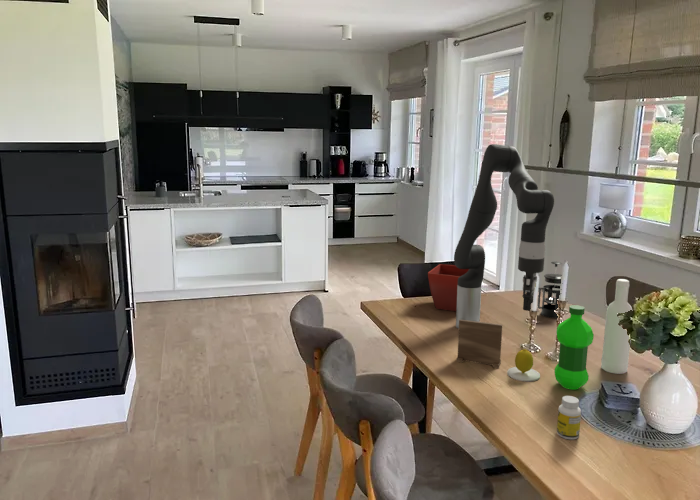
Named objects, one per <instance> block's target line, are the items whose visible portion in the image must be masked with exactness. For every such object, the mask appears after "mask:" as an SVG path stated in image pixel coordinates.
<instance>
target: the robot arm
mask: <svg viewBox="0 0 700 500" xmlns="http://www.w3.org/2000/svg"><path fill="white" fill-rule="evenodd" d="M482 157H483V158H482V162H481V165H480V166H481V167H480V172H479V176H478V181H477V183H476V187H475V192H474V195H473V198H472V201H471V203H470V207H469V211H468V214H467V218H466V221H465V225H464V227H463V230H462V233H461V236H460V238H459V240H458V243H457V244H456V247H455V250H454V255H453V262H454V265H455V266H456V267H457V268H459V269H469V270H468V272H467V273H465V274H464V275H462V276H460V277H459V278H458V285H457V309H456V311H455V313H456V314H455V327H456V328H457V330H459V320H460V319H461V320H469V321H477V322H481V306H482V305H481V301H482V286H483V285H482V283H483V281H484V275H485V264H486V251H485V249H484V247H483V246H482V245H481V244H475V242H476V240H477V239H478V238H479V237H480V236H481V235H482V234H483V233H484V232H485V231H486V230H487V229H488V228H489V227H490V225H491V224H492V223H493V221H494V219H495V215H496V212H497V209H498V201H497V197H496V195H495V193H494V189H493V185H492V176H493V173H494V172H495V173H496V172H497V173H510V174H509V176H508V185H509V188H510V189H511V191H512V193H513V194H514V195H515V199H516V206H517V209H518V211H520V212H521V213H523V214H536V216H535V217H534V218H533V219H531V220H526V221H524V222H522V224H521V230H520V244H519V247H518V260H517V269H518V270H519V272H523V273H525V274H524V275H523V276H522V299H523V304H522V306H523V307H522V309H523V311H527V312H528V311H529V312H530V311H531V309H532V304H533V302H534V294H535V290H536V287H537V281H538V276H537V275H536V274H539V273H542V272H544V269H545V255H546V245H545V244H546V232H547V231H546V229H547V226H548V223H549V220H550V217H551V215H552V212H553V209H554V205H555V198H554V194H553V193H552V191H550V190H548V189H539V188H538V184H537V182H536V181H535V180H534V178H532V176H531V175H530V174H529V172H528V171H527V168H526V167H525V166H526V165H525V163H524V161H523V159H522V157H521V154H520V153H519V151H518V149H517V148H516V147H515V146H512V145H508V144H506V145H504V144H494V143H493V144H491V143H490V144H489V145H488V146H487V147H486V149H485V151H484V154H483V156H482Z"/></svg>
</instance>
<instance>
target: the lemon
mask: <svg viewBox="0 0 700 500" xmlns="http://www.w3.org/2000/svg"><path fill="white" fill-rule="evenodd" d="M514 364H515V367H517V369H518V370H520V371H521V372H522V373H525V372H527V371H529V370H530V369H533V365H534V357H533V354H532V352H531V351H529V350H527V349H526V348H524V349H522V350H519V351H518V352H517V353H516V355H515V358H514Z"/></svg>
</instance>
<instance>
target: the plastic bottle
mask: <svg viewBox="0 0 700 500" xmlns="http://www.w3.org/2000/svg"><path fill="white" fill-rule="evenodd" d="M568 308H569V309H568V313H569V314H570V317H568V318H566V319H565V320H564V321H562V322H560V323H559V324H558V325H557V327H556V338H557V341H558V342H559V349H558V350H559V351H558V363H557V364H556V366H555V367H554V377H555V380H556V381H557V383H558V384H559V385H560V386H561V387H563V388H564V389H566V390H572V391H573V390H574V391H575V390H578V389H580V388H581V387H583V386H585V385H586V384H587V383H588V382H589V373H588V370H587V361H588V360H587V359H588V350H589V346H590V345H592V343H593V341H594V332H593V328H592V327H591V326H590V325H589V324H588V322H586V321H585V320H584V319H583V315H584V314H585V311H586V310H585V306H582V305H577V304H575V305H574V304H572V305H569V306H568Z"/></svg>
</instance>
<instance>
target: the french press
mask: <svg viewBox="0 0 700 500" xmlns="http://www.w3.org/2000/svg"><path fill="white" fill-rule="evenodd" d="M550 263H551V264H552V265H554V267H555V270H554V273H546V274H544V275H543V277H544V282H546V283H550V284H546V285H543V287H538V292H539V295H537V306H538V307H537V308H538V309H540V311H541V312H540V315H541V316H543V317H545V318H550V319H559V318H558V316H557V314H556V313H555V312H554V310H556V309H557V308H558V304H557V299H558V298H559V295H560V296H561V293H560V290H561V289H560V286H561V276H562V275H563V274H559V273H557V267H558V265H562V264H563V263H562V262H560V261H551V262H550ZM557 284H558V285H557ZM557 289H558V290H557ZM541 290H542V291H541ZM546 293H547V297H546ZM541 294H542V301H541ZM541 303H542V304H541ZM545 303H546V304H545ZM540 304H541V306H540Z"/></svg>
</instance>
